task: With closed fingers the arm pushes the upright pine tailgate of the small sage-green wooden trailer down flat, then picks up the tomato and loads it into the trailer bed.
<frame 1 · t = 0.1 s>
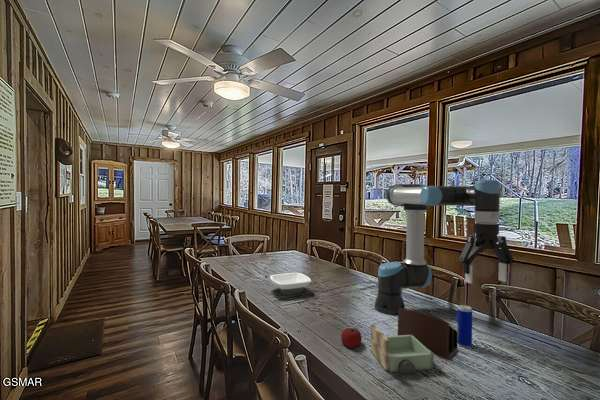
hand: (485, 281, 108), 28 cm above the table, fingers open, 13 cm apart
letter holder: (426, 345, 118), on the table
bowl: (289, 292, 182), on the table
trailer: (400, 362, 106), on the table
tailgate: (379, 347, 105), point 6 cm above the table, hinge at 0.0°
beverage can: (464, 345, 119), on the table
tomato: (350, 347, 117), on the table
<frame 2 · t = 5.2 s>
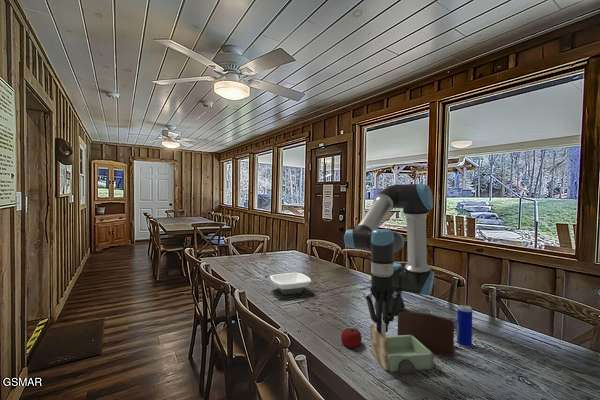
hand: (382, 341, 105), 8 cm above the table, fingers closed
tailgate: (379, 347, 105), point 6 cm above the table, hinge at 1.9°, touching gripper
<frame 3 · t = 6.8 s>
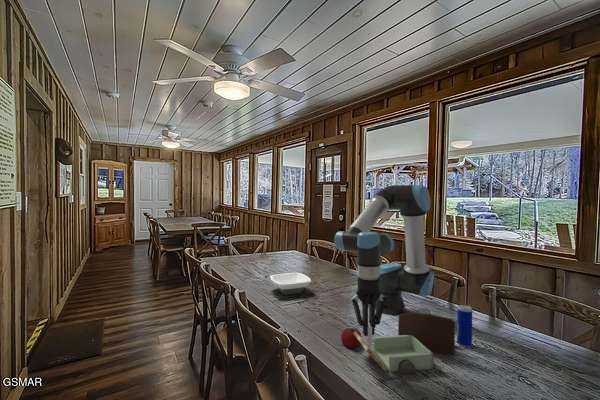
hand: (368, 344, 104), 7 cm above the table, fingers closed
tailgate: (370, 351, 104), point 5 cm above the table, hinge at 42.2°, touching gripper
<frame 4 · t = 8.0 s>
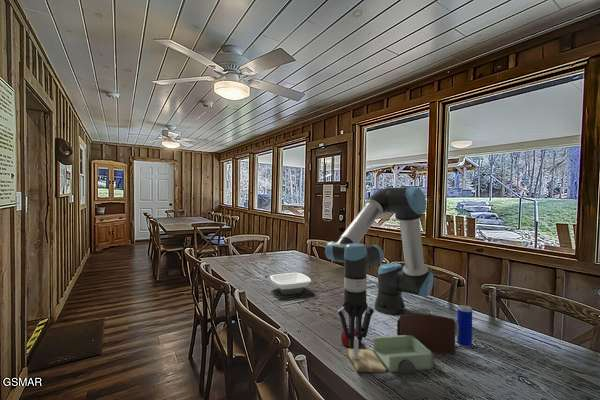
hand: (355, 357, 103), 3 cm above the table, fingers closed
tailgate: (366, 359, 104), point 2 cm above the table, hinge at 82.0°
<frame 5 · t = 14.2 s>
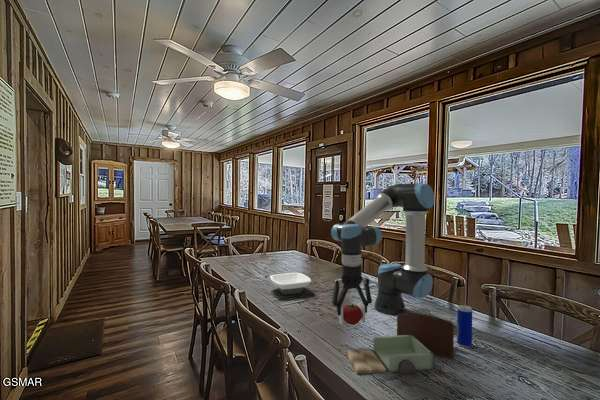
hand: (352, 321, 117), 9 cm above the table, fingers closed on tomato, 8 cm apart
tailgate: (366, 360, 104), point 1 cm above the table, hinge at 86.3°
tomato: (351, 323, 117), point 9 cm above the table, touching gripper
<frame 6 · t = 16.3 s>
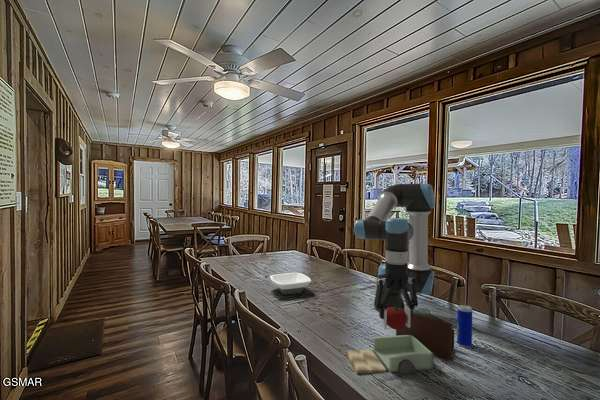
hand: (395, 326, 105), 13 cm above the table, fingers closed on tomato, 8 cm apart
tomato: (395, 327, 105), point 12 cm above the table, touching gripper
when the fingers open (2 cm above the table, at t = 18.5 s): tomato stays where it is, resting on trailer.
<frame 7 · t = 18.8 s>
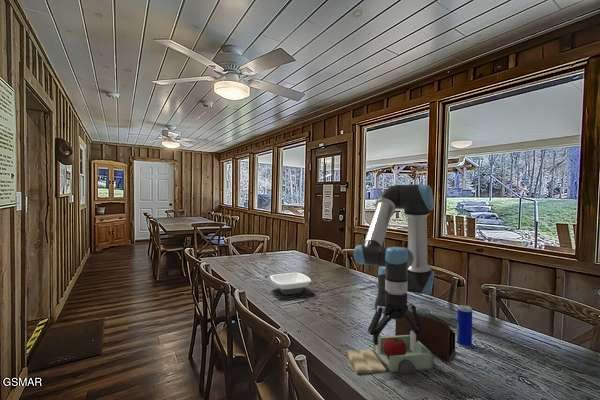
hand: (395, 352, 106), 4 cm above the table, fingers open, 12 cm apart
tomato: (394, 358, 106), point 1 cm above the table, touching trailer
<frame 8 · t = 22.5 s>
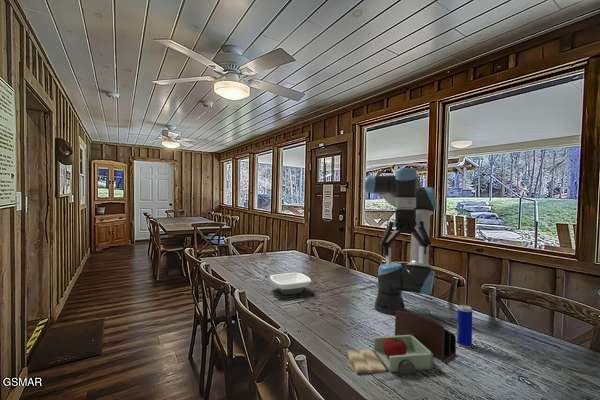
hand: (404, 263, 115), 33 cm above the table, fingers open, 13 cm apart
at the end: tailgate at +86° (first picture: +0°); tomato inside the target area on the trailer (1.7 cm from its centre), point 1.4 cm above the trailer's base; the gripper is holding nothing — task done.
